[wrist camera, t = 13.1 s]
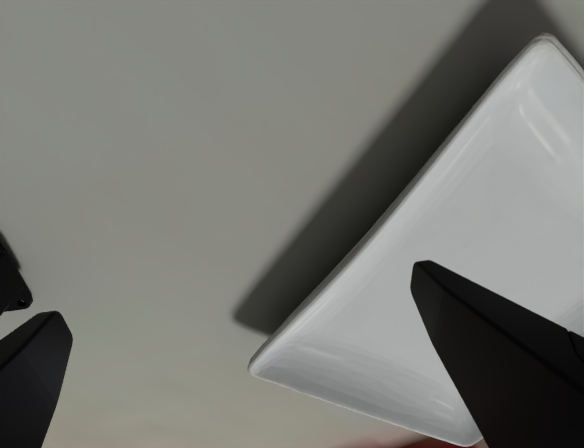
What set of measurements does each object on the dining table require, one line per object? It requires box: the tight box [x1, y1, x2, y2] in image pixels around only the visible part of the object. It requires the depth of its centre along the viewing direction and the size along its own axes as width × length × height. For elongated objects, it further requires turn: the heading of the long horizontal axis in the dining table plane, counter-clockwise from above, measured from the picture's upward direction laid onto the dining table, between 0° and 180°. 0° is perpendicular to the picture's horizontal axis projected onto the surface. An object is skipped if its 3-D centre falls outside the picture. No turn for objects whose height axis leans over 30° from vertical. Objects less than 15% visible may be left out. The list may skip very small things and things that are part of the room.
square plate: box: [248, 32, 584, 447], centre depth 28 cm, size 27×27×4 cm
